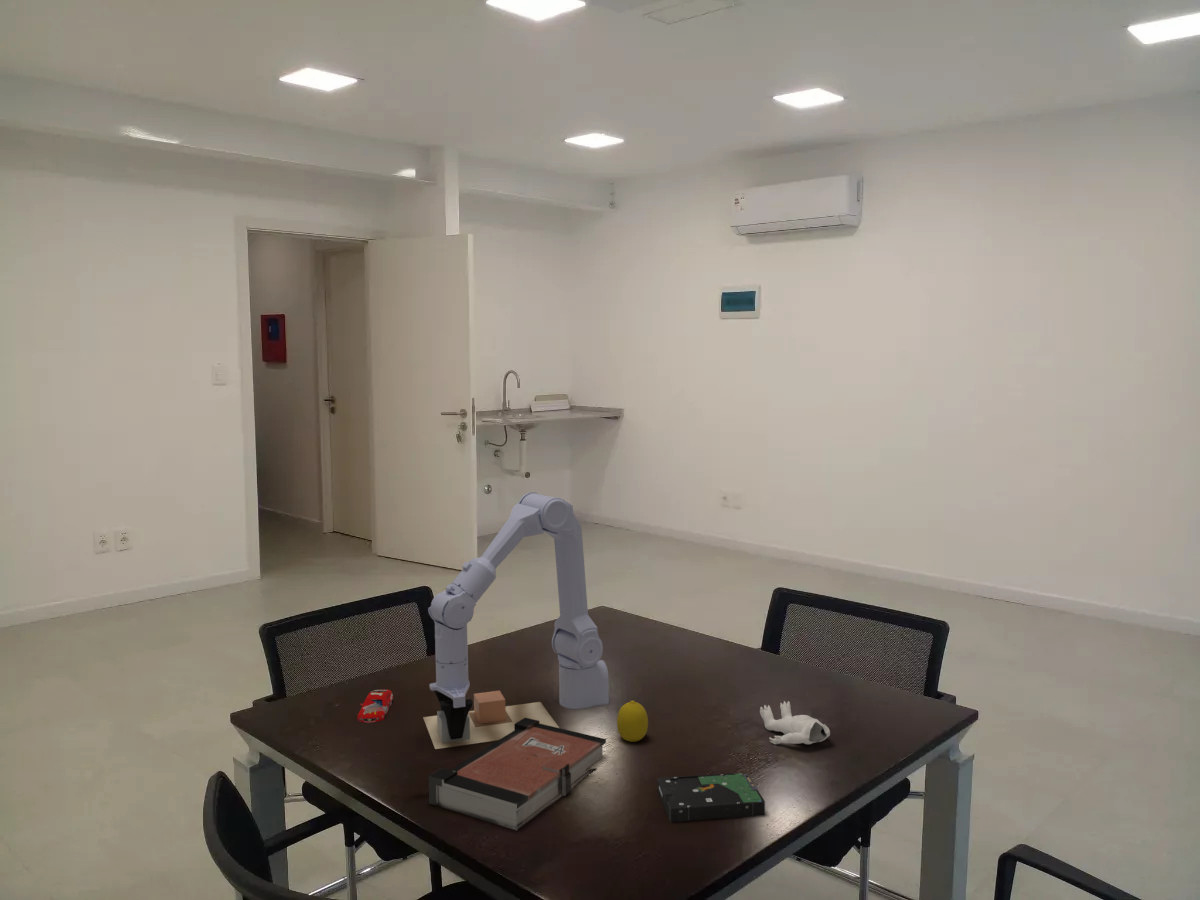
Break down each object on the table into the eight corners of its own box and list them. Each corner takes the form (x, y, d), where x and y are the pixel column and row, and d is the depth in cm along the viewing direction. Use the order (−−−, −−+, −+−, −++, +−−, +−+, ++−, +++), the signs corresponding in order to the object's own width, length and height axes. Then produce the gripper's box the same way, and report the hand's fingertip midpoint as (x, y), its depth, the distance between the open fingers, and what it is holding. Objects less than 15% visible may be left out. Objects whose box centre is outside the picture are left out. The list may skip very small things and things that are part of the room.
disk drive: (670, 827, 136) (766, 818, 138) (670, 809, 136) (766, 800, 138) (656, 794, 146) (746, 786, 148) (656, 777, 146) (746, 769, 148)
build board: (540, 706, 182) (540, 701, 181) (561, 736, 167) (561, 730, 167) (423, 722, 174) (423, 716, 174) (435, 754, 160) (435, 748, 160)
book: (521, 835, 134) (520, 802, 133) (429, 806, 143) (428, 775, 142) (609, 765, 156) (609, 737, 156) (525, 744, 165) (525, 717, 165)
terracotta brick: (499, 710, 177) (499, 690, 176) (505, 720, 172) (505, 699, 172) (474, 713, 175) (473, 693, 175) (479, 723, 171) (479, 703, 170)
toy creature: (799, 697, 175) (840, 703, 164) (803, 729, 174) (845, 738, 163) (747, 708, 169) (786, 715, 159) (751, 741, 169) (791, 751, 158)
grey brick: (464, 728, 169) (464, 707, 168) (470, 739, 164) (469, 717, 164) (437, 732, 167) (437, 711, 167) (442, 743, 162) (441, 721, 162)
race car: (383, 729, 172) (382, 708, 172) (354, 729, 172) (353, 709, 171) (397, 702, 185) (396, 683, 185) (370, 703, 185) (369, 683, 185)
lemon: (651, 739, 166) (651, 697, 165) (642, 752, 160) (642, 708, 160) (622, 735, 167) (622, 693, 167) (613, 748, 162) (612, 704, 161)
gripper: (423, 649, 170) (425, 719, 171) (435, 674, 156) (437, 751, 157) (461, 645, 172) (463, 714, 173) (476, 669, 158) (478, 745, 160)
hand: (453, 732), depth 165 cm, fingers closed on grey brick, 5 cm apart
